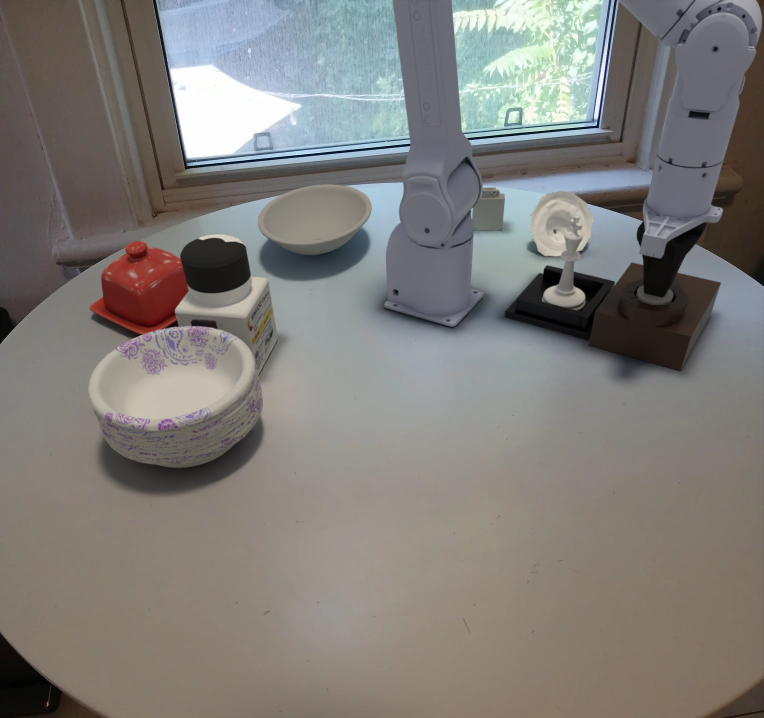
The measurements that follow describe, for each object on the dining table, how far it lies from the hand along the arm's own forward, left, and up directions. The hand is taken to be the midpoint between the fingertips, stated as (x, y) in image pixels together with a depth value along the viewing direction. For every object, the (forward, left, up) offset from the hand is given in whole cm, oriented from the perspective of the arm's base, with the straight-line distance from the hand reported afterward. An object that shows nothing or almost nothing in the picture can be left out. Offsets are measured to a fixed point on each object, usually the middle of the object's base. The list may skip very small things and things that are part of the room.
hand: (655, 292), depth 75 cm
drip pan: (-11, +3, -6) cm, 13 cm away
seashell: (-17, +17, -6) cm, 25 cm away
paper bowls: (-34, -36, -6) cm, 50 cm away
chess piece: (-10, +3, -6) cm, 12 cm away
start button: (0, 0, -2) cm, 2 cm away
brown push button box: (0, +3, -6) cm, 7 cm away
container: (-39, -23, -6) cm, 45 cm away
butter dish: (-54, -20, -6) cm, 57 cm away
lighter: (-29, +17, -6) cm, 34 cm away
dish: (-45, +2, -6) cm, 45 cm away
